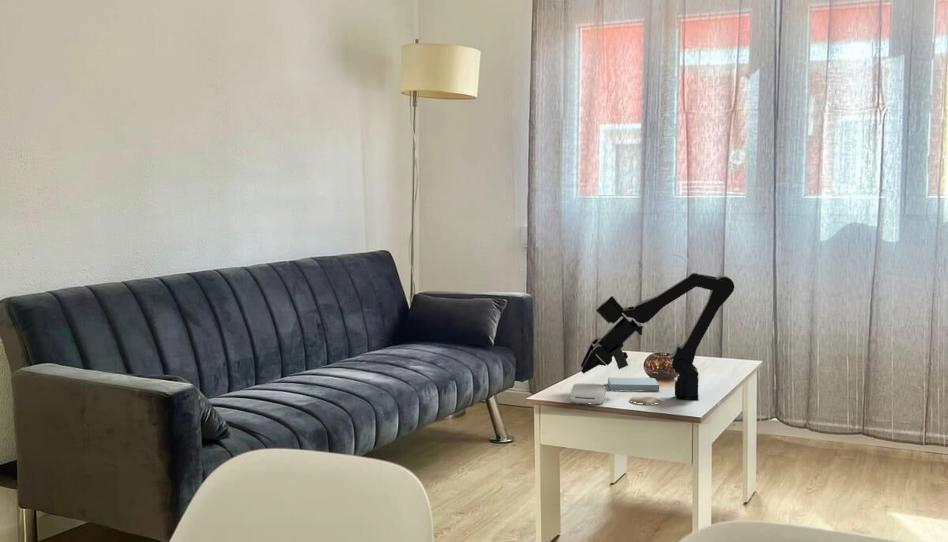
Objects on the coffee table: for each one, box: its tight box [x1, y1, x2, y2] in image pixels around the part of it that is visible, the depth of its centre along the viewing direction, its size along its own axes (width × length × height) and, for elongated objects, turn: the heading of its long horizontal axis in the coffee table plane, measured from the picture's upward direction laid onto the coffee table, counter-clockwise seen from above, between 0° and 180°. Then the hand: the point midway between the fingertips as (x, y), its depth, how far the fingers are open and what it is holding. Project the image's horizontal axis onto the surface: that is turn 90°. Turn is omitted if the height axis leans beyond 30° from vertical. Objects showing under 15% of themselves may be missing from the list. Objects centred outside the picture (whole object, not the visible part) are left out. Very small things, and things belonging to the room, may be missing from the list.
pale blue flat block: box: [607, 377, 660, 392], centre depth 293 cm, size 15×11×2 cm
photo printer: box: [569, 383, 607, 405], centre depth 273 cm, size 10×4×12 cm
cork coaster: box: [629, 396, 662, 404], centre depth 273 cm, size 9×9×1 cm
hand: (582, 369), depth 282 cm, fingers open, 9 cm apart
